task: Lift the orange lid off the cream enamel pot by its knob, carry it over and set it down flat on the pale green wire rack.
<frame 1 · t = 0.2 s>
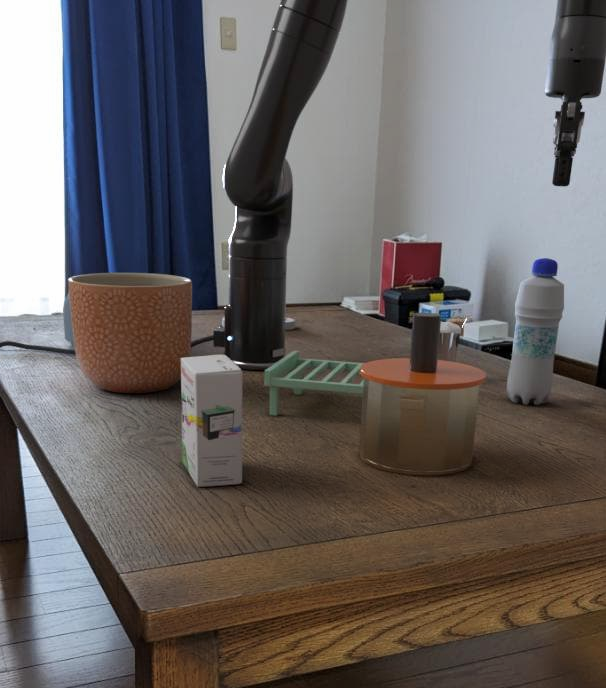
hand: (560, 186, 128), 29 cm above the table, tool pointing down, fingers open, 8 cm apart
ink box: (211, 475, 95), on the table
alarm clock: (120, 348, 160), on the table
bottle: (526, 403, 130), on the table
planter: (134, 387, 131), on the table
milkshake: (443, 381, 142), on the table
lid: (422, 375, 99), point 9 cm above the table, touching pot
pot: (415, 458, 102), on the table
rack: (332, 407, 123), on the table
game controller: (258, 330, 182), on the table
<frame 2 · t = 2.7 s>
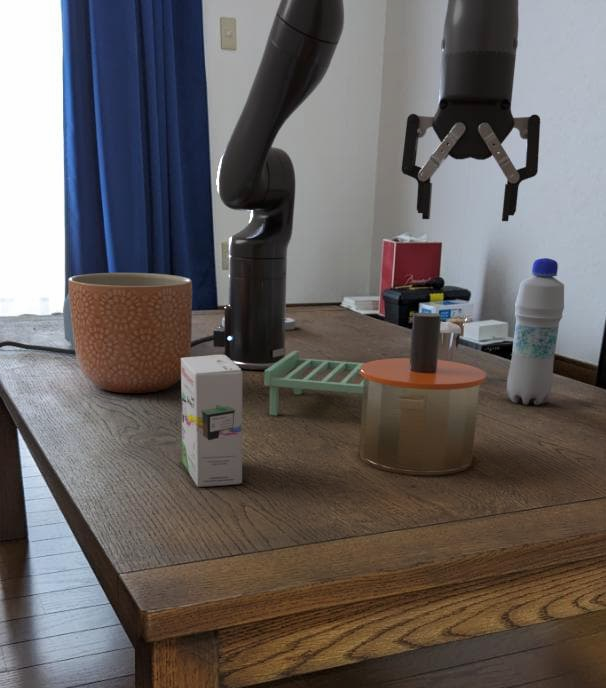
hand: (464, 220, 98), 26 cm above the table, tool pointing down, fingers open, 8 cm apart
nothing on the table moved.
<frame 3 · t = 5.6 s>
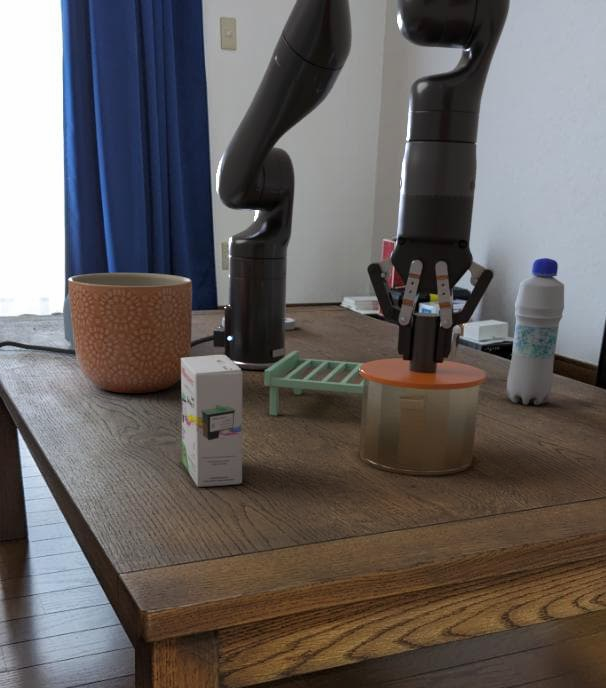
hand: (423, 359, 98), 11 cm above the table, tool pointing down, fingers closed on lid, 3 cm apart
lid: (422, 375, 99), point 10 cm above the table, touching gripper, pot
everything else where it was.
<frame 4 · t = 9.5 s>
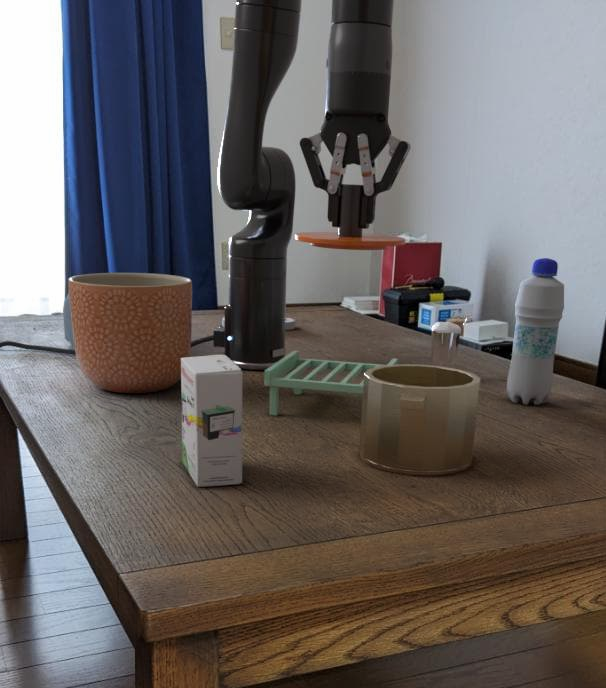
hand: (350, 226, 111), 24 cm above the table, tool pointing down, fingers closed on lid, 3 cm apart
lid: (349, 241, 112), point 22 cm above the table, touching gripper
everything else where it was.
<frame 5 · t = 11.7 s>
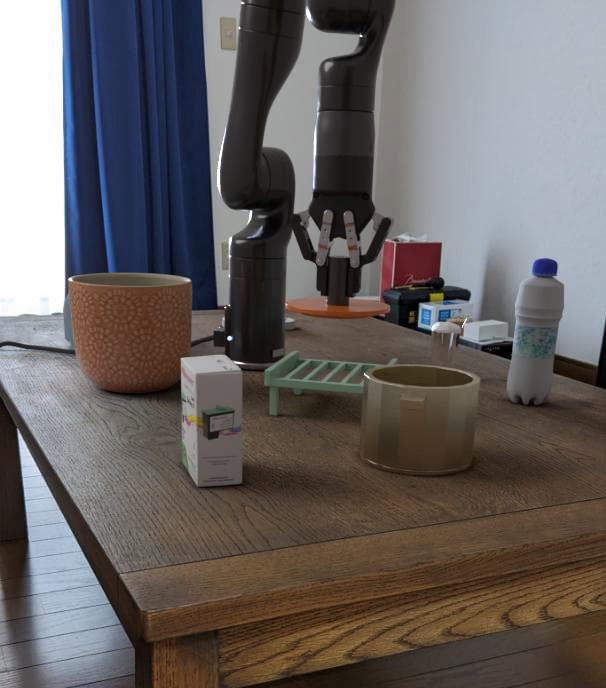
hand: (337, 295, 118), 15 cm above the table, tool pointing down, fingers closed on lid, 3 cm apart
lid: (337, 308, 118), point 13 cm above the table, touching gripper
everything else where it was.
when the fingers open (8 cm above the table, at t = 13.6 s): lid stays where it is, resting on rack.
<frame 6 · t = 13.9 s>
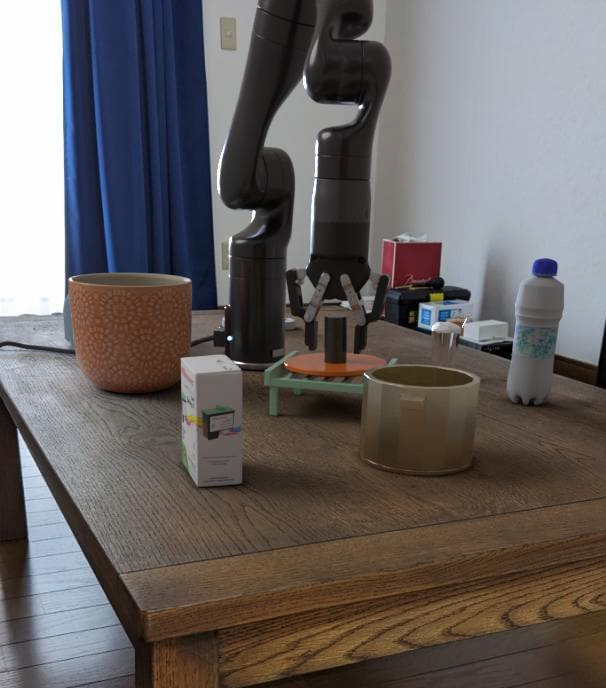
hand: (334, 350, 120), 8 cm above the table, tool pointing down, fingers open, 5 cm apart
lid: (335, 365, 121), point 6 cm above the table, touching rack
everything else where it was.
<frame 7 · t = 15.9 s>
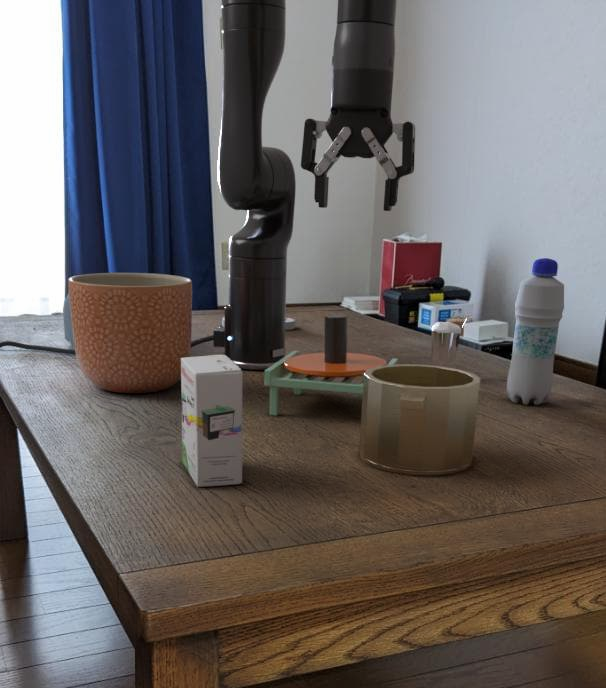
hand: (354, 209, 116), 26 cm above the table, tool pointing down, fingers open, 8 cm apart
nothing on the table moved.
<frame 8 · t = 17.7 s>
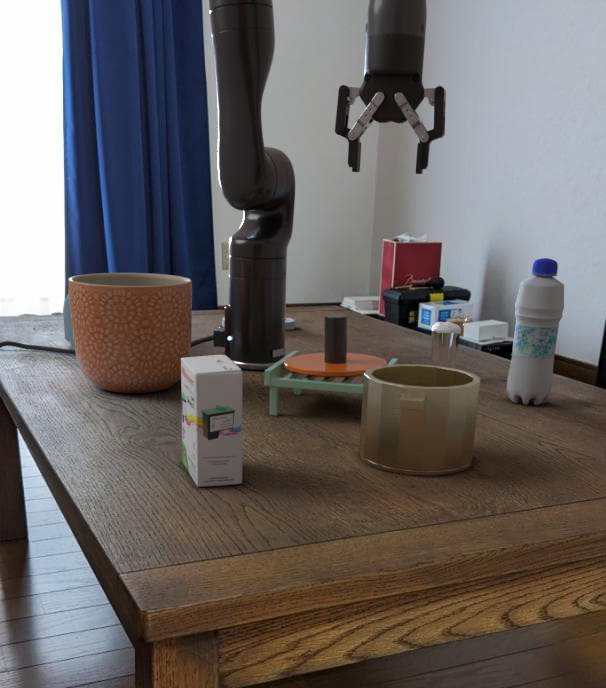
hand: (387, 173, 120), 30 cm above the table, tool pointing down, fingers open, 8 cm apart
nothing on the table moved.
at the end: lid inside the target area on the rack (0.2 cm from its centre), point 5.8 cm above the rack's base; lid tilted 2°; the gripper is holding nothing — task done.
